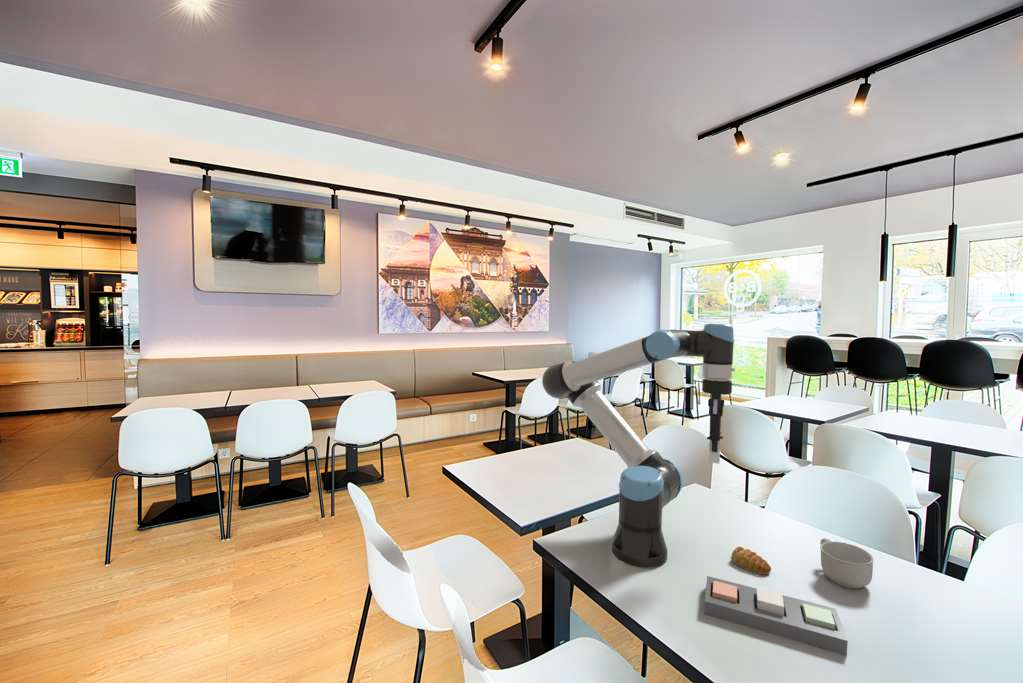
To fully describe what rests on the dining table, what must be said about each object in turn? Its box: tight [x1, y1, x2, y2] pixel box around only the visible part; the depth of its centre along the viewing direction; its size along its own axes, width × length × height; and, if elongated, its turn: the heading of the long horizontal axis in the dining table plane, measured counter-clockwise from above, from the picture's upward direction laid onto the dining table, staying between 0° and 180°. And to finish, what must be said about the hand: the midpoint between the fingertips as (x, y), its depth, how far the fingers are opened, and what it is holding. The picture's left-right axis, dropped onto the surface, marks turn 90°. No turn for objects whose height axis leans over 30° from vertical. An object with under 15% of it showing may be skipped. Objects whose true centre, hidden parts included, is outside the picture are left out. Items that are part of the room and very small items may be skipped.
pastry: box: [730, 546, 772, 576], centre depth 118 cm, size 9×7×4 cm
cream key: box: [756, 587, 784, 616], centre depth 98 cm, size 5×5×2 cm
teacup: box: [819, 537, 875, 590], centre depth 114 cm, size 14×11×8 cm
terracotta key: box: [713, 581, 737, 603], centre depth 102 cm, size 5×5×2 cm
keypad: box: [703, 575, 848, 656], centre depth 98 cm, size 26×11×3 cm, turn 63°
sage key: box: [802, 603, 835, 630], centre depth 94 cm, size 5×5×2 cm
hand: (714, 462), depth 123 cm, fingers closed
